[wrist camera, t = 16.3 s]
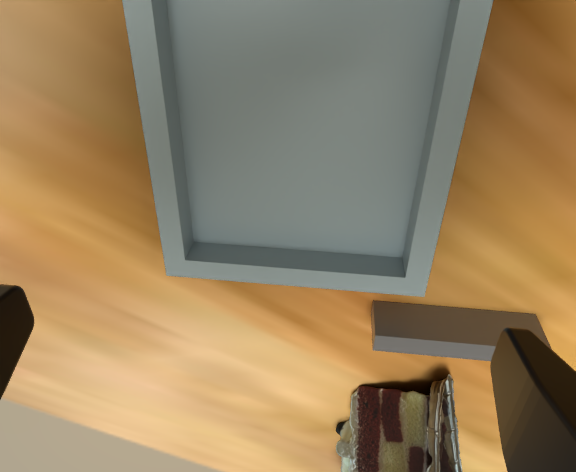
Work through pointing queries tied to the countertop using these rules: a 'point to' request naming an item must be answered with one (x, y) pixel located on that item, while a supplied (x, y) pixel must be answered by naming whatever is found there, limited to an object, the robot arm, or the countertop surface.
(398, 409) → the dark piece
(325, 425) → the countertop surface
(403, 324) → the bay rails
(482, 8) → the tray
